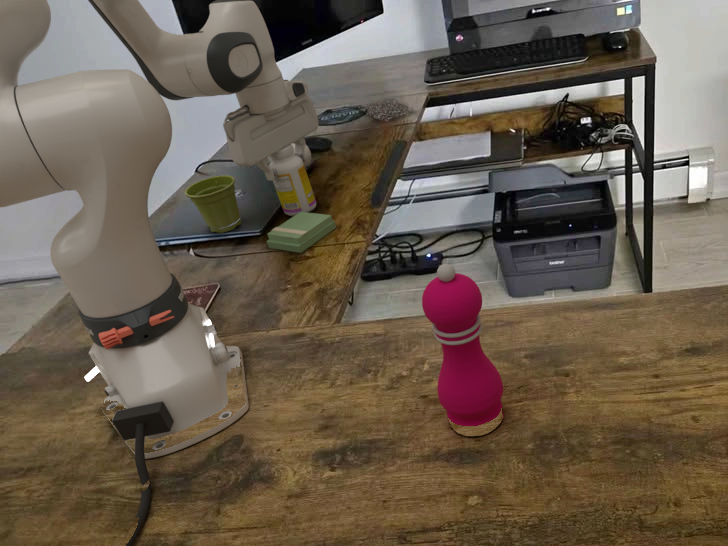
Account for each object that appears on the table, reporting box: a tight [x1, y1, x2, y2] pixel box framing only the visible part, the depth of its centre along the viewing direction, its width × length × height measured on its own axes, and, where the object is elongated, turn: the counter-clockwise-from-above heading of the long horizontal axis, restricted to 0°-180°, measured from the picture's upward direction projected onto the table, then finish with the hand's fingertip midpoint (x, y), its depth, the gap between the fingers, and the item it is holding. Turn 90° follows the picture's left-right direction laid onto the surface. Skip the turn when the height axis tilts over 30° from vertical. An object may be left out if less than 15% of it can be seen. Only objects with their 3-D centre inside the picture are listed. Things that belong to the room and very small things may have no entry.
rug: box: [357, 97, 415, 122], centre depth 181 cm, size 10×20×1 cm, turn 28°
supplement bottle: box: [268, 144, 317, 217], centre depth 131 cm, size 7×7×13 cm
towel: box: [266, 212, 337, 254], centre depth 123 cm, size 10×8×3 cm
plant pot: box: [184, 174, 242, 234], centre depth 131 cm, size 9×9×9 cm
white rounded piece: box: [292, 143, 312, 170], centre depth 151 cm, size 10×7×7 cm
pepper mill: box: [421, 263, 504, 426], centre depth 70 cm, size 7×7×20 cm
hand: (287, 170), depth 130 cm, fingers closed on supplement bottle, 6 cm apart
